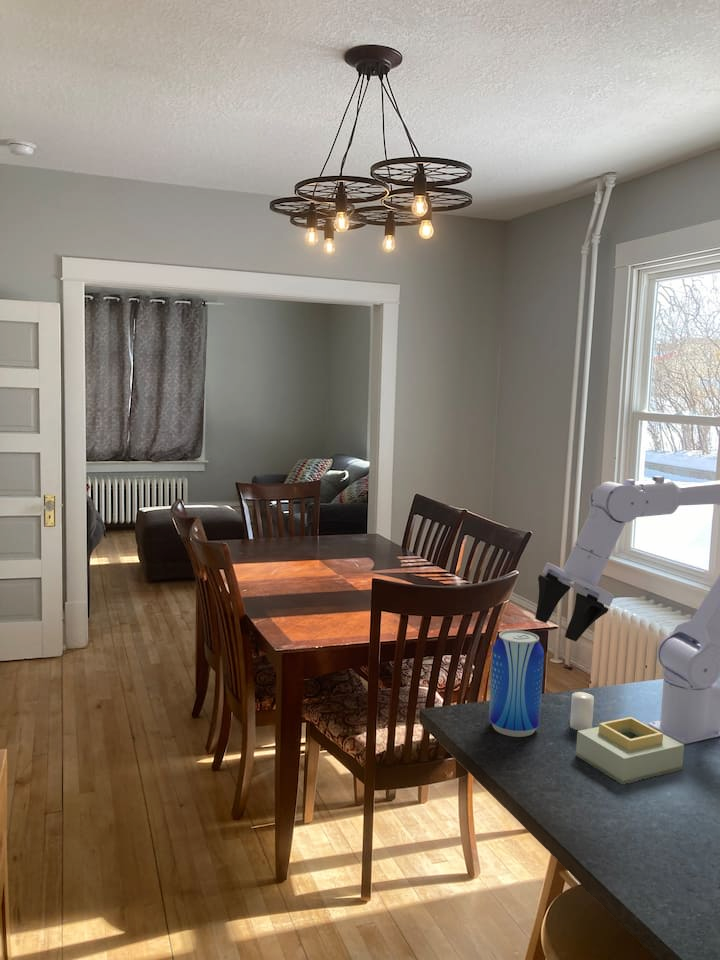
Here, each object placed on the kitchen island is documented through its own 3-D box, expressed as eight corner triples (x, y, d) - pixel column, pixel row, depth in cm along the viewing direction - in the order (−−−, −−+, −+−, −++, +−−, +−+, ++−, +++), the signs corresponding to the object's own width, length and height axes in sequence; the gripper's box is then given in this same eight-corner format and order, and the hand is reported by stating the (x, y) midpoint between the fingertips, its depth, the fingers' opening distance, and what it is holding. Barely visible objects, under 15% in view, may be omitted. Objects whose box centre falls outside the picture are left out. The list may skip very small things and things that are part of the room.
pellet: (581, 721, 139) (584, 690, 138) (596, 729, 135) (598, 698, 135) (565, 724, 137) (567, 693, 136) (579, 733, 134) (581, 701, 133)
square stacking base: (633, 742, 131) (635, 710, 130) (682, 769, 122) (685, 735, 121) (575, 755, 126) (578, 721, 125) (622, 784, 117) (624, 748, 116)
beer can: (539, 741, 130) (545, 646, 128) (487, 735, 132) (492, 641, 130) (538, 720, 138) (544, 630, 136) (489, 715, 140) (494, 626, 138)
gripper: (545, 532, 133) (510, 606, 133) (605, 559, 120) (567, 641, 120) (574, 545, 136) (540, 618, 136) (636, 573, 123) (598, 653, 124)
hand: (555, 629), depth 129 cm, fingers open, 7 cm apart
